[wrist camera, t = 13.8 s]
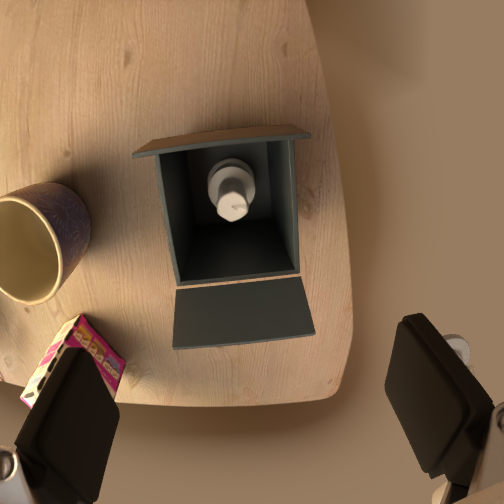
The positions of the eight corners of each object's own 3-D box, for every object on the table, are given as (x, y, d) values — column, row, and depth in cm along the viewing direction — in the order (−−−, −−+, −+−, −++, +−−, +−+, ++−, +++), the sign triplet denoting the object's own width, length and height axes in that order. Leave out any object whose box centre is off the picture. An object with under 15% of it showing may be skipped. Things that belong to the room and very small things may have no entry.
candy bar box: (62, 323, 42) (17, 397, 27) (81, 311, 42) (35, 389, 27) (107, 372, 47) (80, 450, 32) (128, 363, 46) (102, 445, 31)
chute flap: (300, 276, 25) (300, 278, 25) (176, 289, 24) (176, 291, 25) (315, 332, 21) (315, 335, 21) (172, 347, 21) (173, 350, 21)
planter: (82, 279, 40) (49, 324, 30) (16, 237, 37) (-28, 270, 26) (114, 202, 36) (77, 232, 26) (39, 159, 33) (-12, 175, 23)
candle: (260, 165, 36) (275, 186, 24) (246, 209, 37) (254, 248, 26) (215, 152, 35) (208, 167, 24) (202, 196, 36) (190, 231, 25)
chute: (275, 219, 39) (315, 309, 20) (193, 228, 38) (166, 324, 20) (267, 123, 34) (311, 125, 16) (181, 133, 34) (129, 145, 16)
